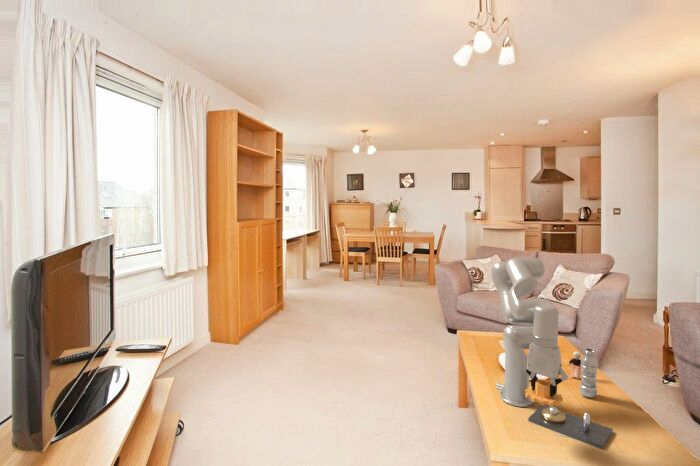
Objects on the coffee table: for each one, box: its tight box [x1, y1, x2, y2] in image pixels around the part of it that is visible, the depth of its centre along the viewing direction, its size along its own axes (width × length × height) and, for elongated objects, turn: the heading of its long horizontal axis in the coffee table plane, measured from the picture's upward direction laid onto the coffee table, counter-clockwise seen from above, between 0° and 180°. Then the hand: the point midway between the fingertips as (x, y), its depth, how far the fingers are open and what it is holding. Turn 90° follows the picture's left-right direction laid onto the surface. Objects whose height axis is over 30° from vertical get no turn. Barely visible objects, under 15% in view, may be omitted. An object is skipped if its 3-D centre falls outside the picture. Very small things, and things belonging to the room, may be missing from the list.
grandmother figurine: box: [567, 351, 582, 380], centre depth 182 cm, size 8×4×13 cm, turn 76°
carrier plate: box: [527, 404, 614, 450], centre depth 142 cm, size 24×14×7 cm, turn 44°
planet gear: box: [525, 378, 564, 407], centre depth 133 cm, size 12×12×5 cm
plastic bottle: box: [579, 348, 599, 399], centre depth 164 cm, size 6×7×20 cm
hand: (543, 391), depth 134 cm, fingers closed on planet gear, 5 cm apart
